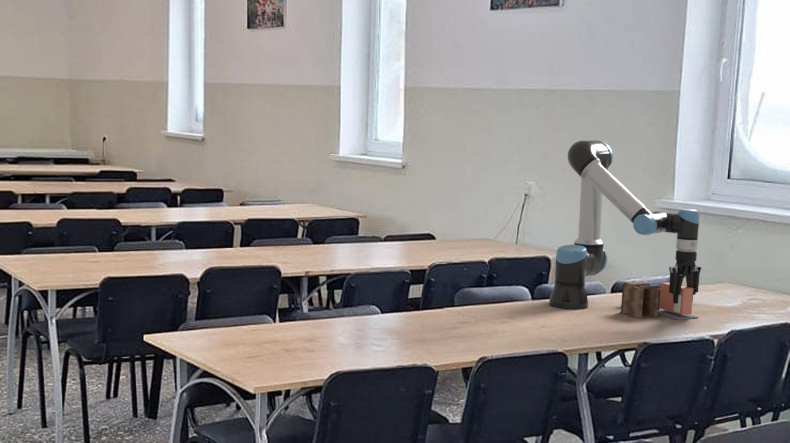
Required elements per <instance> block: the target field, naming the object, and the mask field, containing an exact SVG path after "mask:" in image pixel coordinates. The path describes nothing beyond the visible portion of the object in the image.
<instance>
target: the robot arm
mask: <svg viewBox="0 0 790 443" xmlns="http://www.w3.org/2000/svg"><path fill="white" fill-rule="evenodd" d="M613 160H614V154H613V151H612V148H611V147H610V146H609V145H608V143H606V142H604V141H602V140H601V141H600V140H578V141H576V142H574V143H573V144H572V145H571V146H570V147H569V149H568V151H567V161H568V164H569V166H570V167H571V168H572V170H574V172H576V174H577V175H578V177H580V199H579V200H580V201H579V214H578V215H579V217H578V218H579V219H578V237H577V238H576V239H575V240H574V242H573V244H568V245H566V244H564V245H561V246H560V247H558V248H557V249H556V254H555V272H554V286H553V289H552V291H551V294H550V296H549V301H548V305H549V306H551V307H555V308H560V309H570V310H578V309H579V310H580V309H581V310H582V309H583V310H584V309H586V308H588V307H589V300H588V299H589V298H588V295H587V291H586V288H585V286H586V277H591V276H595V275H597V274H599V273H600V274H601V272H603V270H604V269H605V268H606V266H607V263H608V254H607V252H606V250H605V249H604V242H603V240H602V239H601V227H602V226H601V225H602V208H603V207H602V206H603V196H604V197H605V198H606V199H607V200H609V202H610V203H612V205H614V206H615V208H616V209H618V210H619V212H621V213H622V215H624V216H625V217H626V218H627V220H629V222H631V223H632V225H633V230H634V231H635V233H637V234H638V235H640V236H641V235H642V236H643V235H644V236H650V235H653V234H659V233H668V234H676V242H675V244H676V246H675V261H676V263H675V265H674V266H669V268H668V270H669V282H670V284H669V292H670V293H672V294H673V303H674V312H678V313H680V305H681V295H679V294H680V290H681V286H683V281H684V279H685V282H686V287H690V288H693V296H695V295H696V294H697V293H698V292H699V286H700V284H699V283H700V274H701V271H702V267H701V266H698V265H696V261H697V255H698V253H697V251H698V241H699V226H700V213H699V211H698V209H693V208H680V209H679V210H678V213H675V212H674V213H671V212H663V211H653V210H652V211H650V209H648V208H647V207H646V206H645V204H643V203H642V202H641V201H640V200H639V199H638V198H637V197H635V195H634V194H632V193H631V192H630V191H629V190H628V189H627V188H626V187H625V186H624V185H623V184H622V183H621V182H620V181H619V180H618V179H617V178H616V177H615V176H614V175H612V173H610V172H609V171H608V170H609V169H608V168H609V167H610V166H611V165H612V164H613ZM676 291H677V292H676ZM693 301H694V298H693V299H692V303H693Z"/></svg>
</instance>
